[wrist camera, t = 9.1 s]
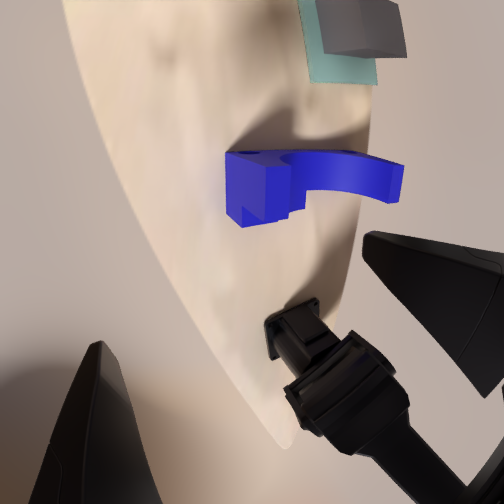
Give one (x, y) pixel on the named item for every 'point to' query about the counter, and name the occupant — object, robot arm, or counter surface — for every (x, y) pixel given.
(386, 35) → the gray cube block
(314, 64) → the teal board
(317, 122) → the counter surface
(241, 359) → the counter surface
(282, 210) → the blue arched bracket
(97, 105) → the counter surface
